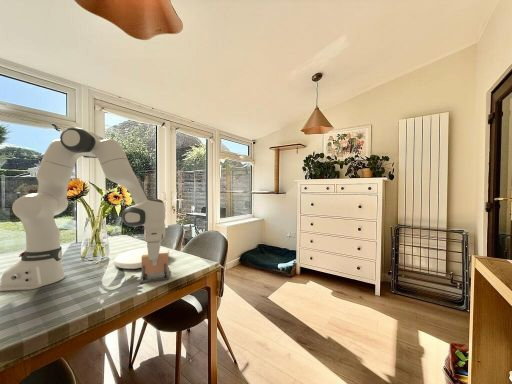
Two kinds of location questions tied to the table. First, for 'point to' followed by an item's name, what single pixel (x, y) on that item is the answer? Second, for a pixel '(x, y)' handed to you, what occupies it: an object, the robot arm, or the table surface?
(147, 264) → the tile
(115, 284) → the table surface
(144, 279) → the rack
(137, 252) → the plate
